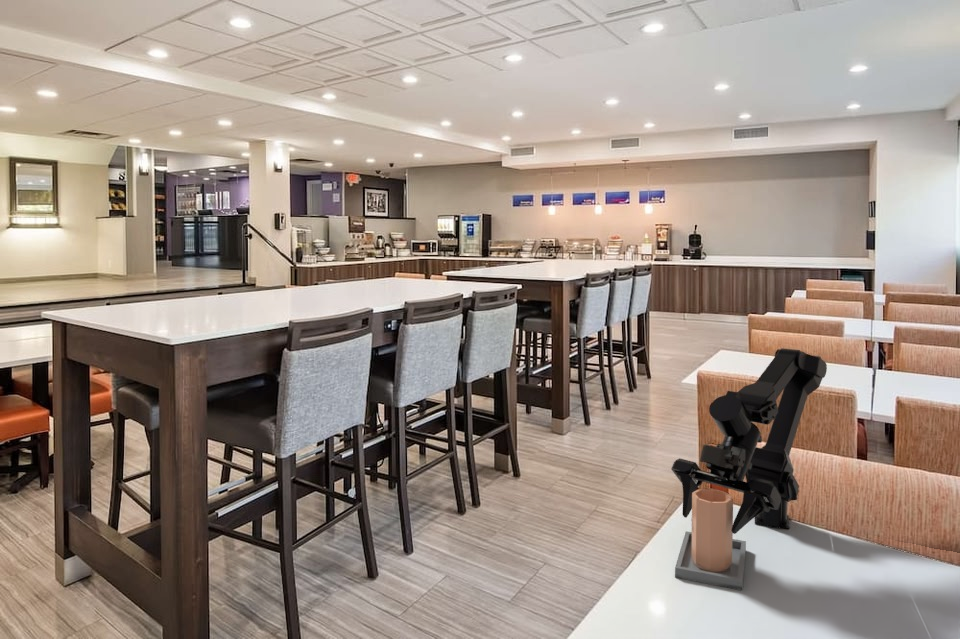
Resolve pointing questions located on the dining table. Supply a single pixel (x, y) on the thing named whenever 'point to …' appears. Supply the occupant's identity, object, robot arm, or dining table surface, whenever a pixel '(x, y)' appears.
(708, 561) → the cup
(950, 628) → the dining table surface
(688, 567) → the tray
